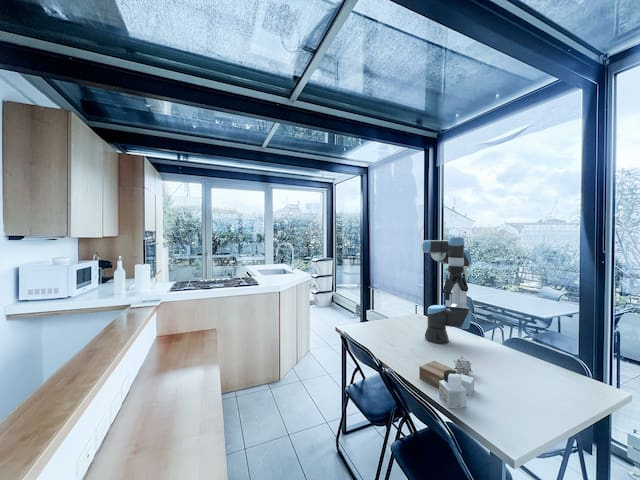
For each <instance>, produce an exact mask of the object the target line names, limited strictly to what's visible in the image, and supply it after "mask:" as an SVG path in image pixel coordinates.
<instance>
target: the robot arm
mask: <svg viewBox="0 0 640 480" xmlns="http://www.w3.org/2000/svg"><path fill="white" fill-rule="evenodd" d="M421 248H422V252H423V253H427V254H430V256H431V258H432V259H433V260H434V261H435V262H437V263H441V264H443V265H448V266H447V271H448V273H449V274H446V276H445V277H446V278H445V282H444V286H443V289H442V293H443V294H445V305H442V304H433V305H430V306H428V308H427V313H426V314H427V328H426V330H425V333H424V339H425V340H427V341H428V342H431V343H433V344H447V343H449V335H448V332H447V329H446V328H447V327H450V328H456V329H462V330H463V329H464V330H465V329H466V330H467V329H469V328H470V326H471V319H472V311H471V310H470V307H468V305H467V301H468V300H467V292H468V291H469V286H468V281H467V280H468V279H467V276H468V273H467V272H468V271H467V270H468V269H469V268H470V266H472V264H473V263H472V255H471V250H470V248H466V247H465V239H464V237H463V236H449V237H448V239H447V240H444V239H443V240H440V239H438V240H437V239H435V240H432V239H426V240H425V239H424V240H423V241H422V245H421ZM451 293H452V294H451ZM447 307H448V308H447Z"/></svg>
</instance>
